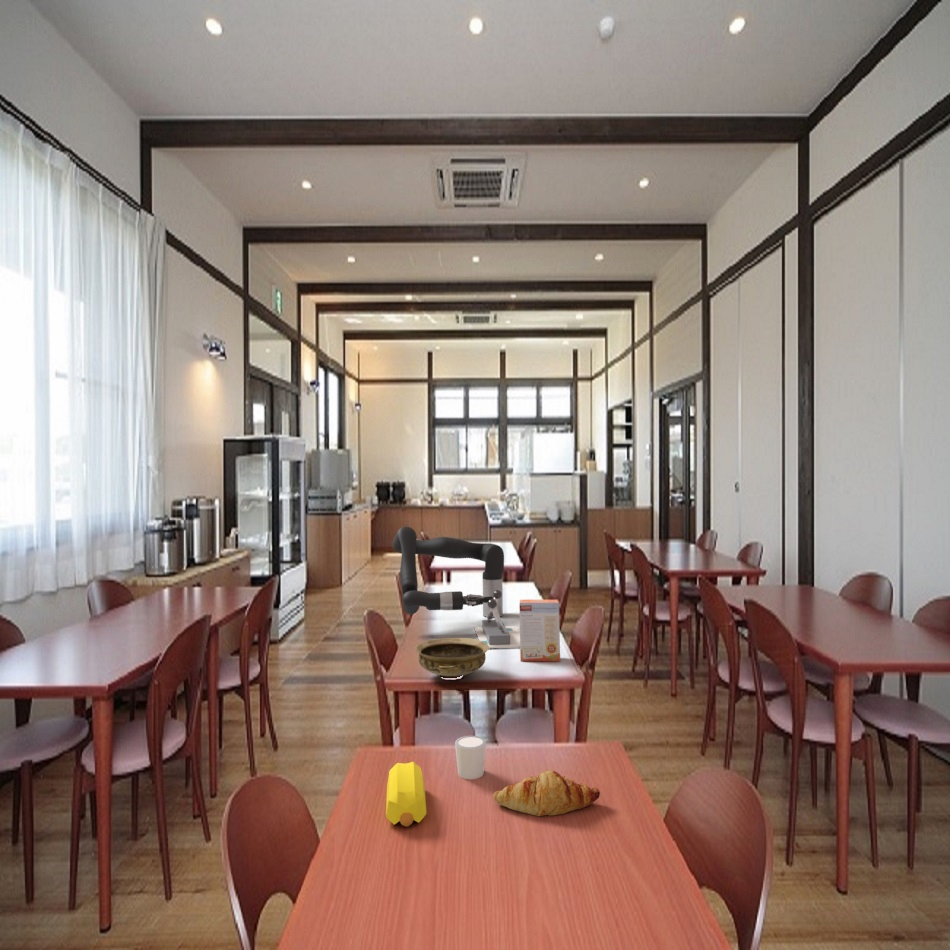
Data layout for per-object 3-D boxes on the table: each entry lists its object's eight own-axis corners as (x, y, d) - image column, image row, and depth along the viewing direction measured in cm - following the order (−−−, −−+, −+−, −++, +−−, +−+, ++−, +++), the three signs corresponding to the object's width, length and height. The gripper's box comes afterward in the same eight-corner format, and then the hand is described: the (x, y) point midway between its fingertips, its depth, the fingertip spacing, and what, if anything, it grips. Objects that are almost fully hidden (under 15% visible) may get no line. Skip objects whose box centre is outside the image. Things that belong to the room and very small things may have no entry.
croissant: (494, 831, 122) (494, 805, 119) (492, 784, 131) (491, 759, 127) (603, 827, 122) (606, 801, 119) (593, 780, 131) (595, 755, 128)
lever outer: (497, 632, 244) (485, 600, 243) (506, 628, 244) (494, 596, 244) (499, 634, 240) (486, 602, 240) (507, 631, 241) (495, 598, 240)
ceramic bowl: (483, 694, 188) (483, 661, 188) (405, 691, 191) (405, 659, 191) (493, 663, 218) (493, 635, 218) (425, 662, 221) (425, 633, 221)
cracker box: (559, 657, 225) (559, 598, 225) (560, 662, 219) (559, 602, 219) (520, 656, 226) (519, 598, 226) (520, 661, 220) (519, 602, 220)
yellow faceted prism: (423, 783, 135) (387, 786, 134) (423, 752, 135) (387, 754, 134) (427, 830, 117) (385, 834, 116) (427, 794, 117) (385, 797, 116)
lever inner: (483, 618, 261) (494, 588, 262) (492, 621, 262) (502, 590, 262) (484, 620, 258) (495, 589, 258) (493, 623, 258) (503, 592, 259)
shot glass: (462, 783, 134) (462, 750, 134) (450, 769, 140) (450, 738, 140) (491, 776, 137) (491, 744, 137) (478, 763, 143) (478, 733, 143)
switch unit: (474, 629, 265) (474, 619, 265) (516, 628, 267) (516, 617, 267) (482, 649, 235) (482, 637, 235) (529, 647, 237) (529, 635, 237)
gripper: (451, 594, 252) (494, 593, 253) (450, 588, 265) (490, 587, 267) (452, 613, 252) (495, 611, 253) (450, 606, 265) (491, 605, 267)
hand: (492, 599), depth 260 cm, fingers closed
